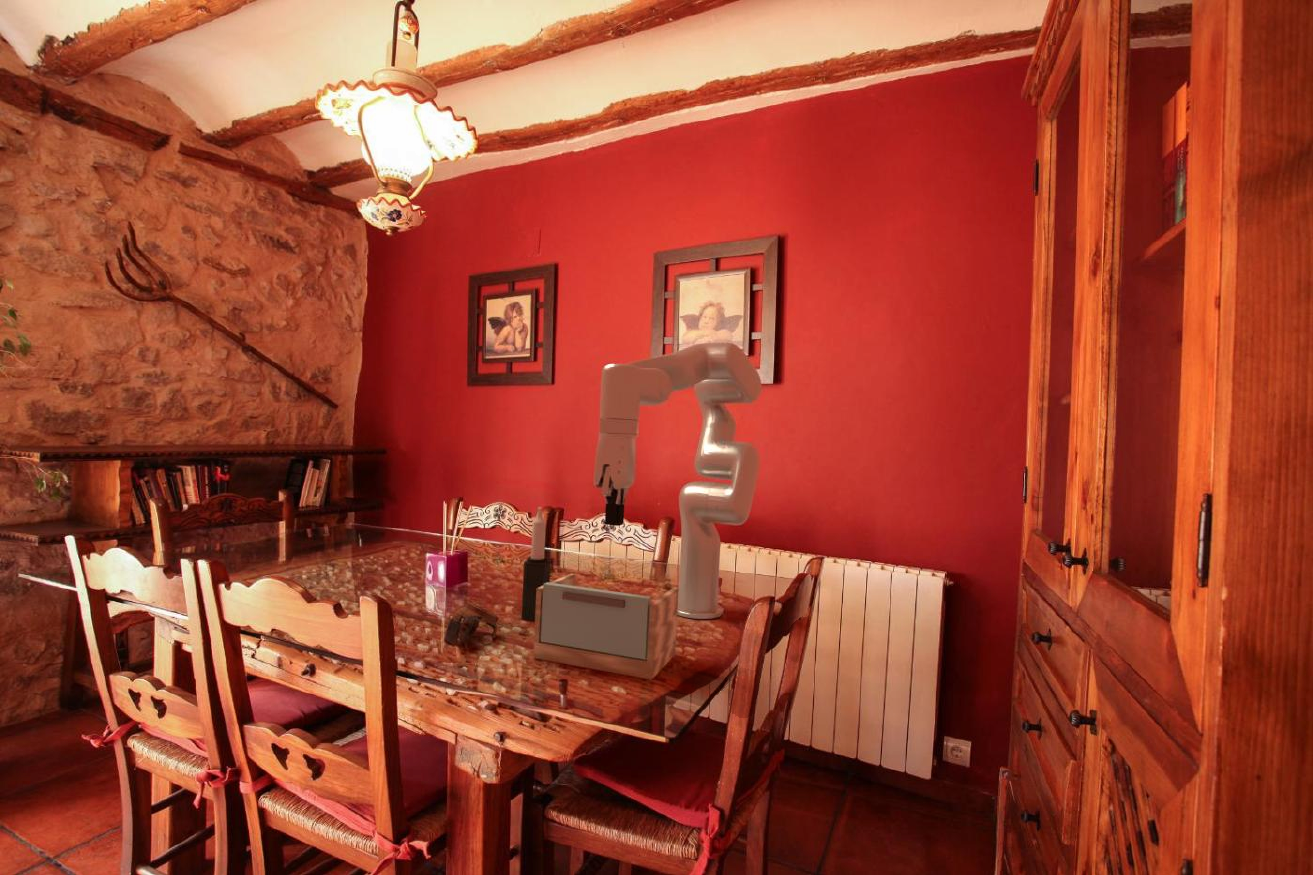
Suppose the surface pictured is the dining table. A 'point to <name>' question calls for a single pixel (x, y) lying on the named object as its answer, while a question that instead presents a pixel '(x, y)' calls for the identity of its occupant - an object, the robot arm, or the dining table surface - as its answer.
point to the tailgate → (596, 620)
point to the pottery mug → (468, 623)
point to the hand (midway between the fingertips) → (614, 524)
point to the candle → (535, 568)
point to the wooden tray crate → (658, 654)
